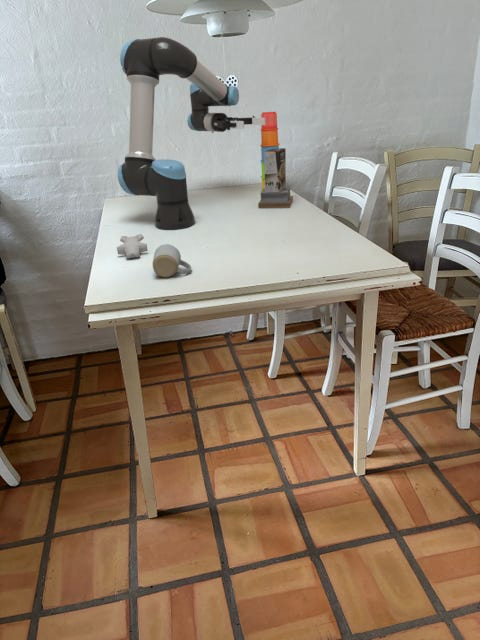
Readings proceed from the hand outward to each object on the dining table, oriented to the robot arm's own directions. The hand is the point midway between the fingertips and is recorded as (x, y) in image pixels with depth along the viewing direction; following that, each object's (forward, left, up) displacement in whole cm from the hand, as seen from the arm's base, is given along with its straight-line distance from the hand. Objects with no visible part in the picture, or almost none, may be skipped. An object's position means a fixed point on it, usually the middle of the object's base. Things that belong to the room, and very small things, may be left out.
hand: (254, 123), depth 194 cm
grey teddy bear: (-67, +30, -32) cm, 81 cm away
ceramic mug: (-84, +11, -32) cm, 91 cm away
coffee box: (-5, -9, -26) cm, 28 cm away
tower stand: (-5, -9, -32) cm, 34 cm away
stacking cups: (+19, -4, -32) cm, 38 cm away
